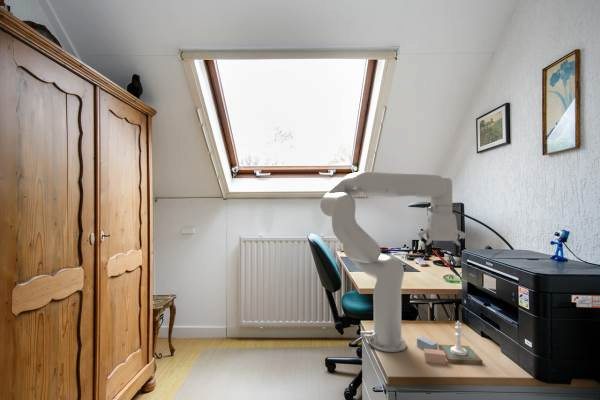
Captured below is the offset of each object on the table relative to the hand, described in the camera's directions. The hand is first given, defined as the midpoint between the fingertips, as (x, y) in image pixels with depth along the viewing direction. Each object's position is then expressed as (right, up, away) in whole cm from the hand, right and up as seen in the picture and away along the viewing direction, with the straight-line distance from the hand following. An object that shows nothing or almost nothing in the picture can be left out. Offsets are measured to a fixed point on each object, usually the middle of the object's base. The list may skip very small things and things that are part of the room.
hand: (441, 255), depth 119 cm
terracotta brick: (-11, -30, -19) cm, 38 cm away
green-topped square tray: (-2, -30, -16) cm, 34 cm away
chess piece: (-2, -29, -16) cm, 33 cm away
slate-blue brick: (-10, -30, -11) cm, 34 cm away
